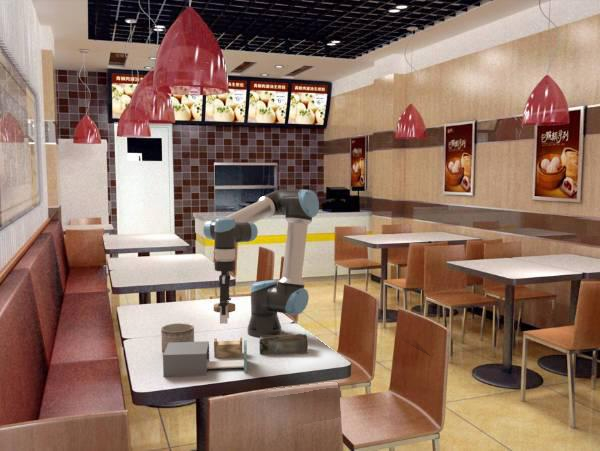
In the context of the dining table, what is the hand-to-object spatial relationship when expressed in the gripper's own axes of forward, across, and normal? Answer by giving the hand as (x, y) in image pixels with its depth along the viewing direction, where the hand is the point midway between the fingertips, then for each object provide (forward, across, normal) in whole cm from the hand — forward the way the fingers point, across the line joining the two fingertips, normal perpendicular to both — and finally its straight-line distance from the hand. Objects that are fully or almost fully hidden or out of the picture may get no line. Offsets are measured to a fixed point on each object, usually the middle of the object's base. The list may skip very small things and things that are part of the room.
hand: (224, 320), depth 211 cm
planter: (+17, -14, -19) cm, 29 cm away
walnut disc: (-4, 0, 0) cm, 4 cm away
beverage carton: (+16, -13, +23) cm, 31 cm away
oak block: (+16, -10, +1) cm, 19 cm away
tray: (+16, +4, +1) cm, 17 cm away
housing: (+17, +5, -13) cm, 22 cm away
